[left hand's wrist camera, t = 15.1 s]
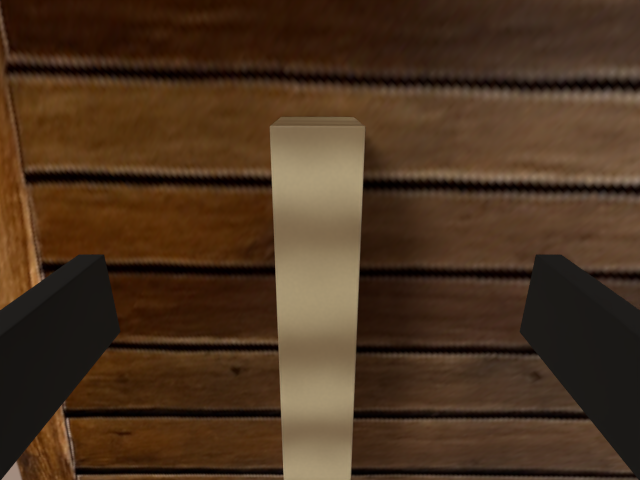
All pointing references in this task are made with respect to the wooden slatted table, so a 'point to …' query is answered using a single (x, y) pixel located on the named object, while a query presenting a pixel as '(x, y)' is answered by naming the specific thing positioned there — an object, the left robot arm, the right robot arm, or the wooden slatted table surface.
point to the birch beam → (317, 288)
